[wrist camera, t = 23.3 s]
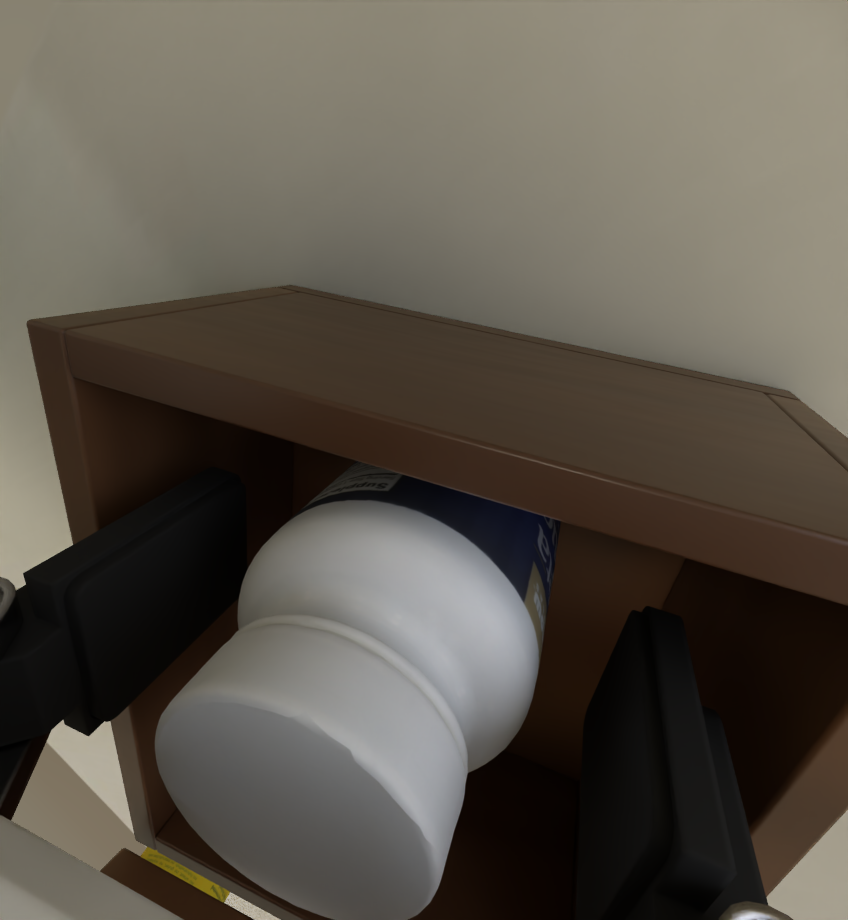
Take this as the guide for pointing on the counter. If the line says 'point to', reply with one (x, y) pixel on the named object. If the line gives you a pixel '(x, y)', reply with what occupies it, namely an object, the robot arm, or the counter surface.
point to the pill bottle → (362, 691)
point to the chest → (510, 483)
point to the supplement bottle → (185, 874)
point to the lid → (167, 889)
